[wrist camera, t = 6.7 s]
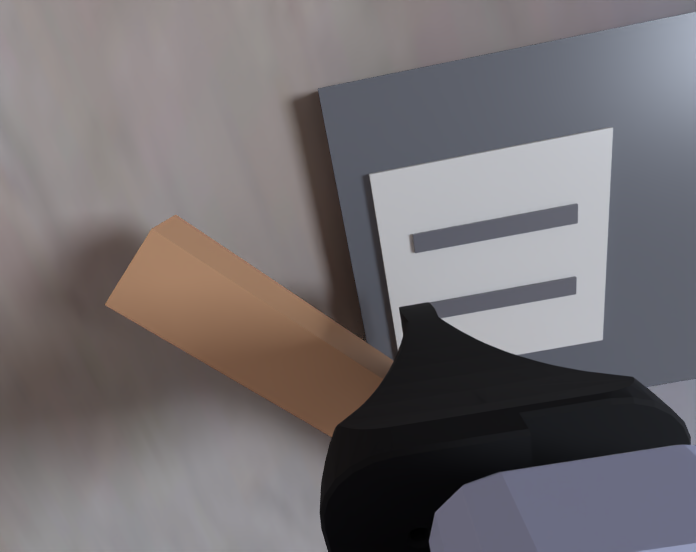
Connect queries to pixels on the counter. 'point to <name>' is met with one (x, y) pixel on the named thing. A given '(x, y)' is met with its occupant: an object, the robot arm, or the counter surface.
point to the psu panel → (532, 198)
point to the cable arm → (247, 326)
